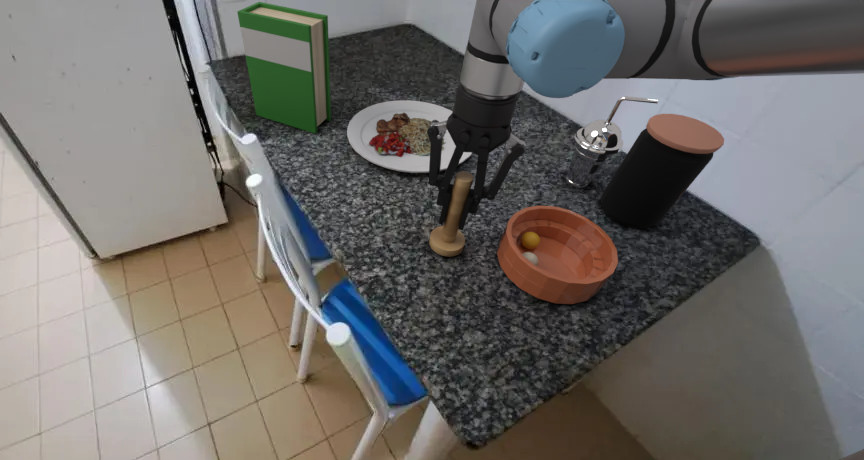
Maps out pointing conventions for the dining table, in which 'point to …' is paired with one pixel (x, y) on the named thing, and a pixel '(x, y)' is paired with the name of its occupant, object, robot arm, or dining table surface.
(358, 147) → the plated food
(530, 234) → the bead
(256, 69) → the hardback book
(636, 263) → the dining table surface
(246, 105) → the dining table surface
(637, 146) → the coffee jar
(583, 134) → the cup with straw
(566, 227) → the bowl
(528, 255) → the bead
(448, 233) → the masher
